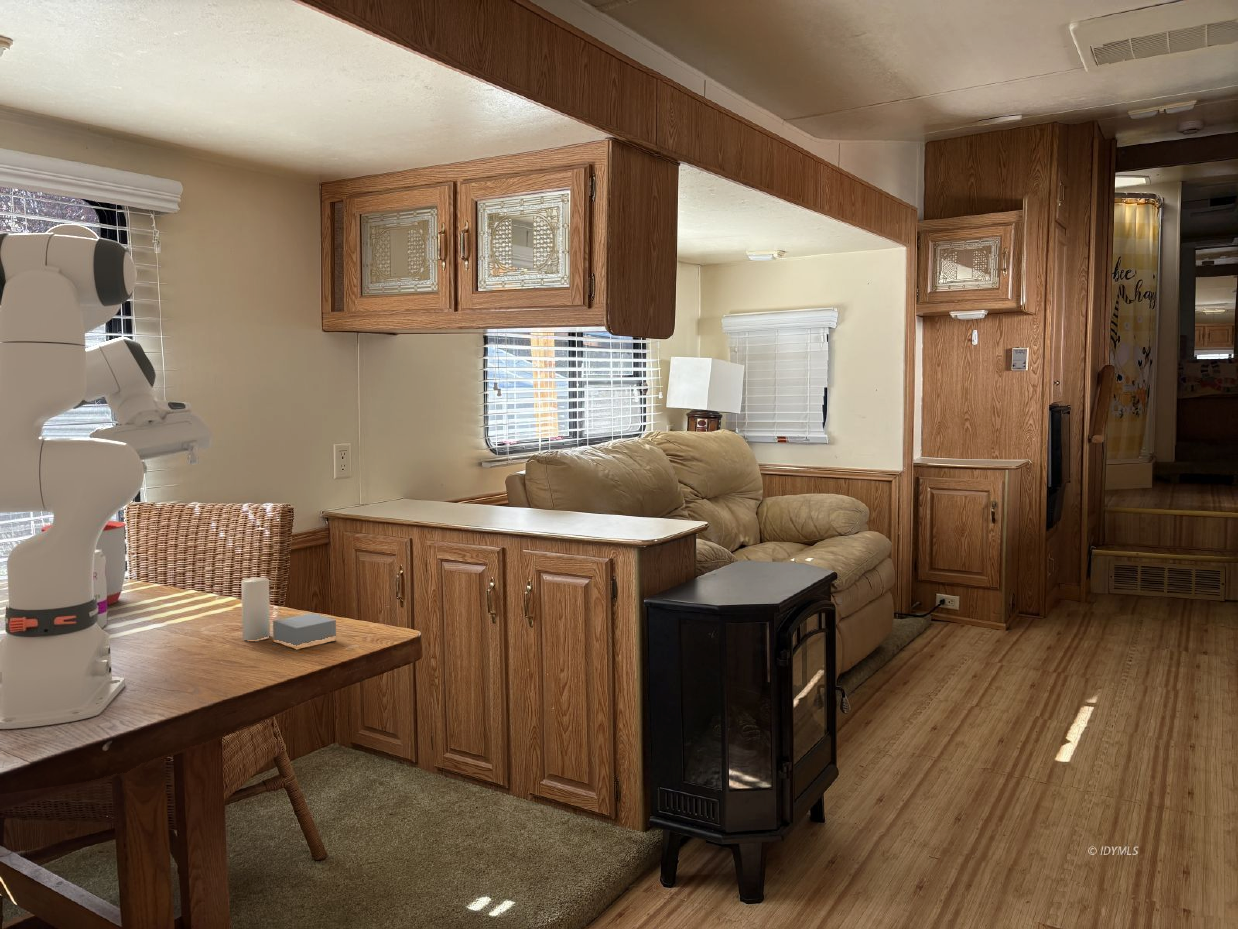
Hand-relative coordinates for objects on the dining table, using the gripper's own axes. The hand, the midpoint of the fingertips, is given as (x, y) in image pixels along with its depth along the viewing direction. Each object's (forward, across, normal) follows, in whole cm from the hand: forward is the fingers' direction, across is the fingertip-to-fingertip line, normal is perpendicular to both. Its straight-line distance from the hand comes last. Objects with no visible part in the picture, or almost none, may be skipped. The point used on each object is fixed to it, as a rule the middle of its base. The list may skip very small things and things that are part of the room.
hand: (169, 466), depth 179 cm
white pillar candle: (+33, +5, +16) cm, 37 cm away
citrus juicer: (-8, -14, +44) cm, 46 cm away
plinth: (+40, +11, +12) cm, 43 cm away
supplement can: (+9, -18, +30) cm, 36 cm away
